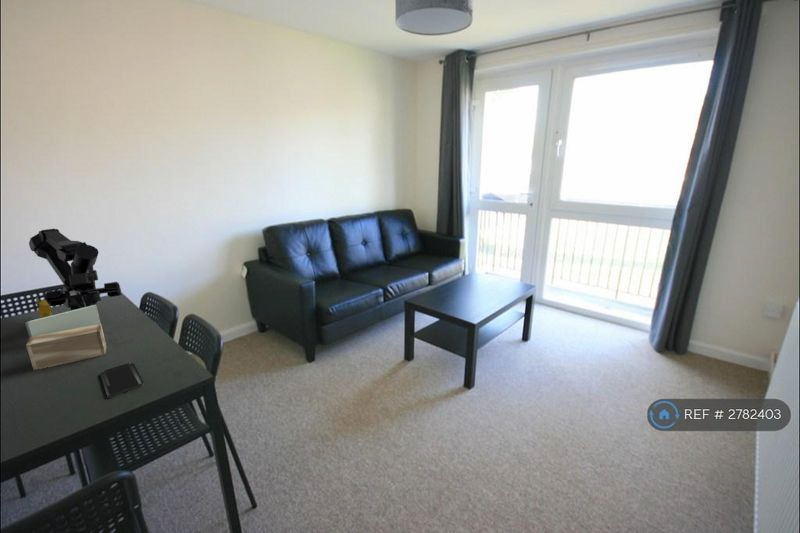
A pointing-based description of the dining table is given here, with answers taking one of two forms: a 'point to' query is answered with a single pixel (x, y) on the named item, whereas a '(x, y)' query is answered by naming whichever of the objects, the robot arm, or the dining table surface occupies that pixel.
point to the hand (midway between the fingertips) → (87, 316)
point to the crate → (66, 346)
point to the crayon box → (43, 308)
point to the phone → (121, 380)
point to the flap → (64, 321)
